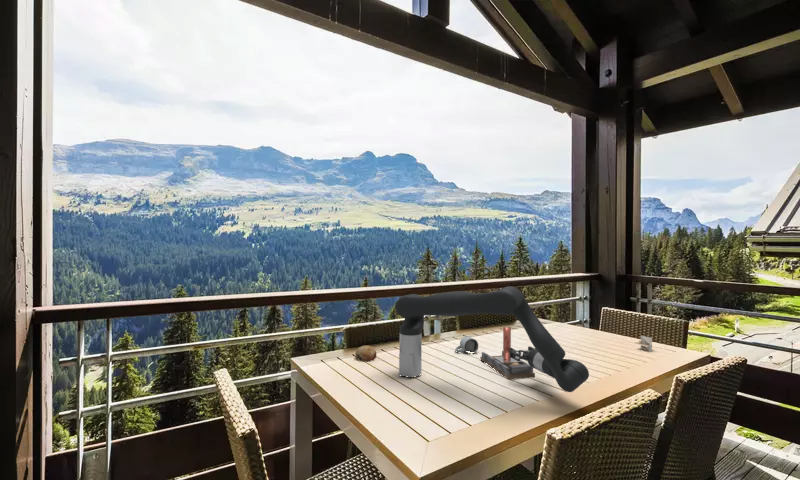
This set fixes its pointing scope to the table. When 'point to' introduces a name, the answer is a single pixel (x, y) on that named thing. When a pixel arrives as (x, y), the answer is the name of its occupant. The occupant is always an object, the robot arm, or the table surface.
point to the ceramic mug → (467, 345)
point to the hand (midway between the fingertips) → (519, 349)
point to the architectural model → (645, 343)
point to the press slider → (506, 348)
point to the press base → (509, 367)
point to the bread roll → (365, 353)
